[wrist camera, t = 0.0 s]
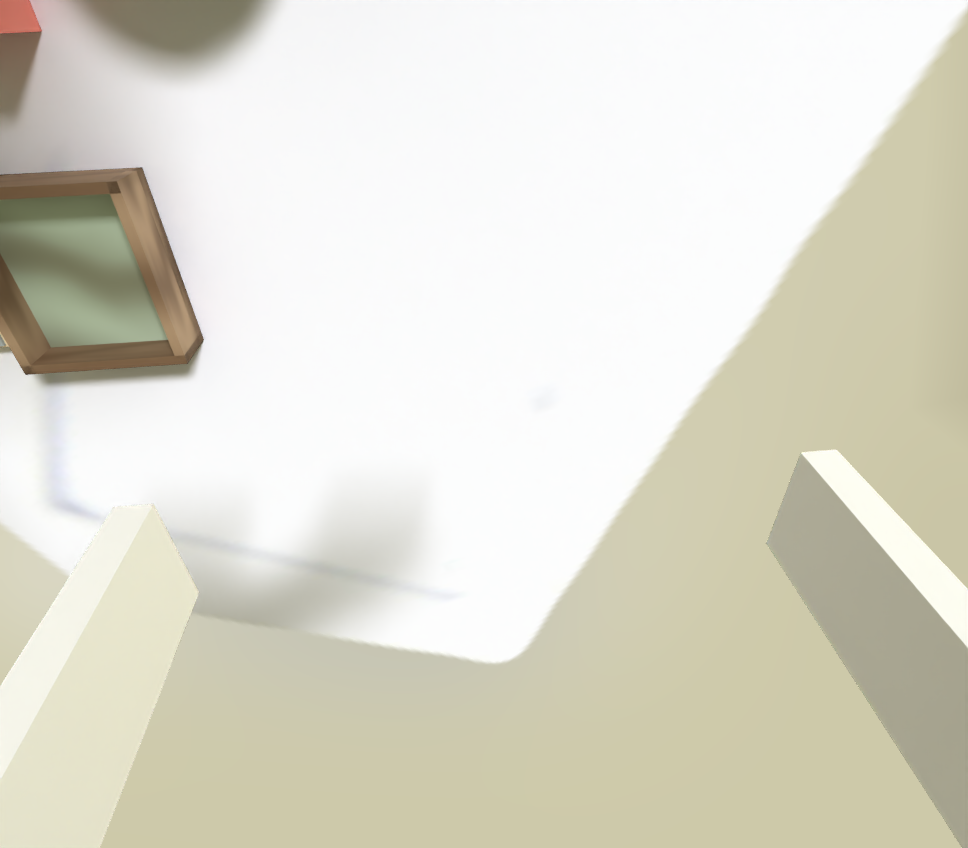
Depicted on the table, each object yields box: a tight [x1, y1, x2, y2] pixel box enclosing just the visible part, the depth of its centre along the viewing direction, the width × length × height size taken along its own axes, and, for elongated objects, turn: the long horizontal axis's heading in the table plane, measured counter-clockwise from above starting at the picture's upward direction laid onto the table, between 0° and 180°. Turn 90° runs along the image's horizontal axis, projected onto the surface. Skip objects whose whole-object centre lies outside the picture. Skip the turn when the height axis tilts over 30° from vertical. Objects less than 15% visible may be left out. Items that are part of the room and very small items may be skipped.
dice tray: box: [0, 168, 204, 375], centre depth 34 cm, size 11×10×3 cm
